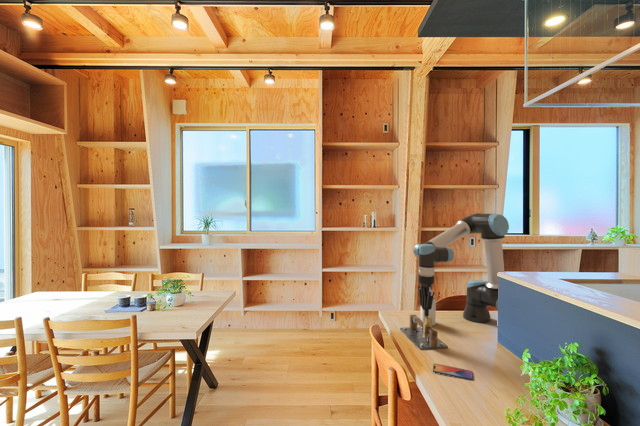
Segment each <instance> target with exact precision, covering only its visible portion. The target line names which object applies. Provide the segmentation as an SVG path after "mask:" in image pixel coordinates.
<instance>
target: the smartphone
mask: <svg viewBox="0 0 640 426" xmlns="http://www.w3.org/2000/svg"><path fill="white" fill-rule="evenodd" d="M434 372H435V373H434ZM432 373H434V374H436V373H440V374H439V375H441V374H445V375H444V376H447V375H450V376H449V377H452V376H454V377H453V378H457V377H458V379H462V378H463V379H462V380H469V381H473V380H474V374H473V371H472V370H469V369H465V368H459V367H454V366H449V365H444V364H440V363H433V366H432Z"/></svg>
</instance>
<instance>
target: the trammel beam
mask: <svg viewBox="0 0 640 426" xmlns="http://www.w3.org/2000/svg"><path fill="white" fill-rule="evenodd" d="M423 323H424V322H422V320H420V316H417V314H409V327H410V328H411V329H416V331H417V327H422V328H423ZM427 332H428V333H429V345H430V346H431V347H437V338H438V331H437V330H434V328H433V327H427Z"/></svg>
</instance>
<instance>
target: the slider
mask: <svg viewBox="0 0 640 426" xmlns="http://www.w3.org/2000/svg"><path fill="white" fill-rule="evenodd" d="M427 327H431V328H433V325H432V317H425V323H423V337H424V338H426V334H427V341H429V333H428V332H427Z"/></svg>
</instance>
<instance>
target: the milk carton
mask: <svg viewBox="0 0 640 426" xmlns="http://www.w3.org/2000/svg"><path fill="white" fill-rule="evenodd" d="M436 305H437V299H436V298H435V296H433V302H432V308H431V309H430V310H429V317H432V326H436V312H437V311H436V309H437V306H436ZM419 306H420V305H419ZM419 313H420V314H419V318H420V320H422V306H420V310H419ZM424 323H425V322H424Z"/></svg>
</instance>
